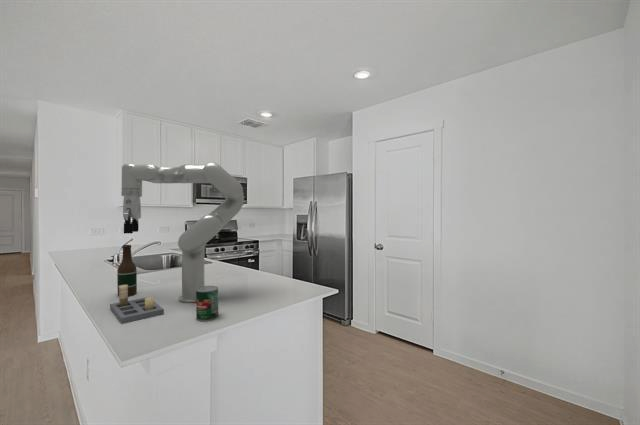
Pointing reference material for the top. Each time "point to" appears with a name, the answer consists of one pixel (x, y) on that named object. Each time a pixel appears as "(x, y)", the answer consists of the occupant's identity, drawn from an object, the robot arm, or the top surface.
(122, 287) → the beech pin
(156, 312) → the peg board
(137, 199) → the robot arm
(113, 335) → the top surface
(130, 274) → the beer bottle
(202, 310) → the canned tomato
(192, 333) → the top surface
